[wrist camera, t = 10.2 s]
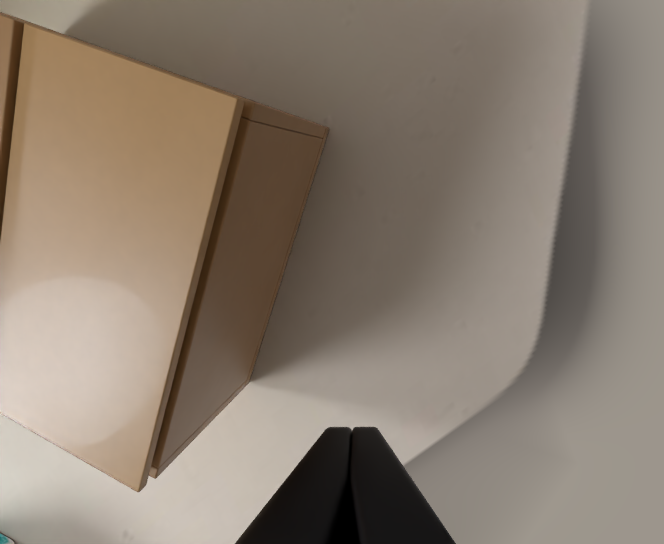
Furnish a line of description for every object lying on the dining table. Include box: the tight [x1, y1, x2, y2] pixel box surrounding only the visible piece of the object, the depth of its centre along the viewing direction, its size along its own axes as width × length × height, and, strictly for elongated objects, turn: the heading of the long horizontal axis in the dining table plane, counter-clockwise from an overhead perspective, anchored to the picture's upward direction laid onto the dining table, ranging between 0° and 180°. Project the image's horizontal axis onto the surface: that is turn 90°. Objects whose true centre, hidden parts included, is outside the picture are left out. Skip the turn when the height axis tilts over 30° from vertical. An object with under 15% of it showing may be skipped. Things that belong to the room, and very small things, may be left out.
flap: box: [0, 23, 244, 492], centre depth 14 cm, size 7×13×1 cm, turn 160°
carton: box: [0, 12, 329, 478], centre depth 18 cm, size 14×13×8 cm
